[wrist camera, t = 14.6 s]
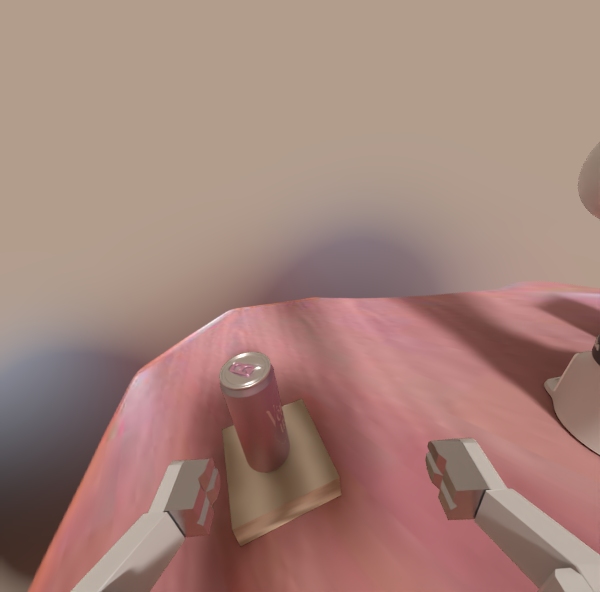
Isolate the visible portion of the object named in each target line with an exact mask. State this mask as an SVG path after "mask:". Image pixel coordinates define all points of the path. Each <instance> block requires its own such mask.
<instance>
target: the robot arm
mask: <svg viewBox="0 0 600 592" xmlns="http://www.w3.org/2000/svg"><path fill="white" fill-rule="evenodd" d="M578 191H579V196H580V198H581V201H582V203H583V204H584V206H585V207H586V209H587V210H588V211H589V212H590V213H591V214H592V215H594V216H595V217H597V218H599V219H600V142H599V143H598V144H597V146H596V147H595V148H594V149H593V150H592V152H591V153H590V154H589V156H588V157H587V159H586V161H585V163H584V164H583V167H582V169H581V172H580V176H579V181H578ZM544 387H545V389H546V390H547V392H548V393H549V394H550V396H551V397H552V399H553V405H554V410H555V412H556V415H557V416H558V418H559V420H560V421H561V423H562V424H563V425H564V426H565V427H566V429H567V430H568V431H569V432H570V433H571V434H572V435H574V436H575V437H576V438H577V439H578V440H579V441H581V442H582V443H583V444H584V445H586V446H587V447H588V448H590V449H591V450H593V451H594V452H596V453H597V454H599V455H600V334H599V335H598V337H597V338H596V340H595V345H594V347H593V349H592V351H585V352H582V353H576V354H575V355H574V356H573V358H572V359H571V361H570V363H569V364H568V366H567V368H566V369H565V371H564V373H563V375H562V376H560V377H555V378H551V379H547V380H546V382H545V383H544ZM428 449H429V451H430V452H428V453H427V454H426V466H427V470H428V473H429V476H430V479H431V481H432V483H433V484H434V485H435V486H436V487H437V488H438V489H440V491H439V496H438V498H439V500H440V502H441V505H442V507H443V509H444V512H445V514H446V516H447V519H448V520H466V519H475V520H474V521H475V522H476V523H477V524H478V525H479V526H480V527H481V529H482V530H483V531H484V532H485V533H486V534H487V535H488V536H489V537H490V538H491V539H492V540H493V541H494V542H495V543H496V544H497V545H498V546H499V547H500V548H501V549H502V551H503V552H504V553H505V554H506V555H507V556H508V557H509V558H510V559H511V560H512V561H513V562H514V563H515V564H516V565H517V566H518V567H519V568H520V569H521V570H522V571H523V572H524V574H525V575H526V576H527V577H528V578H529V579H530V580H531V581H532V582H533V583H534V584H535V585H536V586H537V587H538V588H539V590H538V591H537V592H600V555H599V554H598V553H596V552H595V551H594V550H592V549H591V548H590V547H588V546H587V545H586V544H584V543H583V542H582V541H581V540H579V539H578V538H577V537H575V536H574V535H573V534H571V533H570V532H569V531H567V530H566V529H565V528H563V527H562V526H561V525H560V524H558V523H557V522H556V521H554V520H553V519H552V518H550V517H549V516H548V515H546V514H545V513H544V512H542V511H541V510H540V509H539V508H537V507H536V506H535V505H533V504H532V503H531V502H529V501H528V500H527V499H525V498H524V497H523V496H521V495H520V494H519V493H518V492H516V491H515V490H514V489H512V488H509V489H507V487H506V485H505V484H504V482H503V481H502V479H501V478H500V476H499V475H498V473H497V472H496V470H495V469H494V467H493V466H492V464H491V463H490V461H489V459H488V458H487V456H486V455H485V453H484V452H483V450H482V449H481V447H480V446H479V444H478V443H477V441H476V440H475V439H473V438H459V439H446V440H436V441H430V442H428ZM214 465H215V462H214V460H213V458H207V459H194V460H179V461H172V462H171V464H170V465H169V466H168V468H167V470H166V473H165V475H164V477H163V479H162V482H161V484H160V486H159V489H158V491H157V493H156V496H155V498H154V500H153V502H152V505H151V507H150V509H149V512H148V513H144V514H143V515H142V516H141V517H140V518H139V519H138V520H137V521H136V522H135V523H134V524H133V525H132V527H131V528H130V529H129V530H128V531H127V532H126V533H125V534H124V535H123V536H122V537H121V538H120V539H119V540H118V541H117V543H116V544H115V545H114V546H113V547H112V548H111V549H110V550H109V551H108V552H107V553H106V554H105V555H104V556H103V557H102V558H101V560H100V561H99V562H98V563H97V564H96V565H95V566H94V567H93V568H92V569H91V570H90V571H89V572H88V573H87V574H86V576H85V577H84V578H83V579H82V580H81V581H80V582H79V583H78V584H77V585H76V586H75V587H74V588H73V589H72V590H71V591H70V592H150V591H151V589H152V588H153V586H154V585H155V583H156V582H157V580H158V579H159V577H160V576H161V574H162V573H163V571H164V570H165V569H166V567H167V566H168V564H169V563H170V561H171V560H172V558H173V557H174V555H175V554H176V552H177V551H178V549H179V548H180V546H181V545H182V543H183V542H184V541H185V537H194V536H204V535H209V532H210V528H211V524H212V520H213V516H214V510H213V507H212V505H213V503H214V502H215V501H216V500H217V498H218V495H219V490H220V481H221V479H220V473H219V471H218V470H217V469H216V468H214Z"/></svg>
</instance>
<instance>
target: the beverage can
mask: <svg viewBox="0 0 600 592" xmlns="http://www.w3.org/2000/svg"><path fill="white" fill-rule="evenodd" d="M219 378H220V387H221V390H222V393H223V396H224V398H225V401H226V404H227V407H228V410H229V412H230V415H231V418H232V421H233V424H234V427H235V429H236V432H237V435H238V438H239V441H240V443H241V446H242V449H243V452H244V455H245V457H246V460H247V463H248V465H249V466H250V467H251V468H252V469H253V470H255V471H257V472H262V473H267V472H271V471H274V470H276V469H277V468H279V467H280V466H281V465H282V464H283V463H284V462H285V460H286V459H287V457H288V454H289V451H290V442H289V438H288V433H287V428H286V424H285V419H284V415H283V410H282V405H281V401H280V396H279V392H278V387H277V382H276V378H275V373H274V369H273V366H272V365H271V363H270V360H269V358H268V357H267V356H266V355H264V354H262V353H259V352H246V353H242V354H239V355H237V356H235V357H233V358H231V359H230V360H228V361H227V362H226V363H225V364H224V365H223V367H222V368H221V371H220V374H219Z"/></svg>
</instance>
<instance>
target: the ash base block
mask: <svg viewBox="0 0 600 592" xmlns="http://www.w3.org/2000/svg"><path fill="white" fill-rule="evenodd" d="M282 410H283V415H284V419H285V424H286V428H287V433H288V438H289V442H290V451H289V454H288V457H287V459H286V460H285V462H284V463H283V464H282V465H281V466H280V467H279V468H277V469H276V470H274V471H271V472H267V473H262V472H257V471H255V470H253V469H252V468H251V467H250V466H249V465H248V463H247V460H246V457H245V455H244V452H243V449H242V446H241V443H240V441H239V438H238V435H237V432H236V429H235V427H234V425H232V426H230V427H227V428H224V429H222V435H223V445H224V455H225V465H226V475H227V485H228V495H229V505H230V515H231V524H232V531H233V533H234V535H235V537H236V539H237V541H238V543H239V545H240V546H242V545H244V544H246V543H248V542H250V541H252V540H254V539H256V538H258V537H260V536H262V535H264V534H266V533H268V532H270V531H272V530H274V529H276V528H278V527H280V526H282V525H283V524H285V523H287V522H289V521H291V520H293V519H295V518H297V517H299V516H301V515H303V514H305V513H307V512H309V511H311V510H313V509H315V508H317V507H319V506H321V505H323V504H325V503H327V502H329V501H330V500H332V499H334V498H336V497H338V496H340V495H341V486H340V477H339V475H338V473H337V471H336V468H335V466H334V464H333V462H332V460H331V458H330V456H329V454H328V452H327V450H326V448H325V445H324V443H323V441H322V439H321V437H320V435H319V433H318V431H317V429H316V427H315V425H314V422H313V420H312V418H311V416H310V414H309V412H308V410H307V408H306V406H305V404H304V402H303V400H302V399H300V400H297V401H294V402H292V403H289V404H287V405H284V406H282Z"/></svg>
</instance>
